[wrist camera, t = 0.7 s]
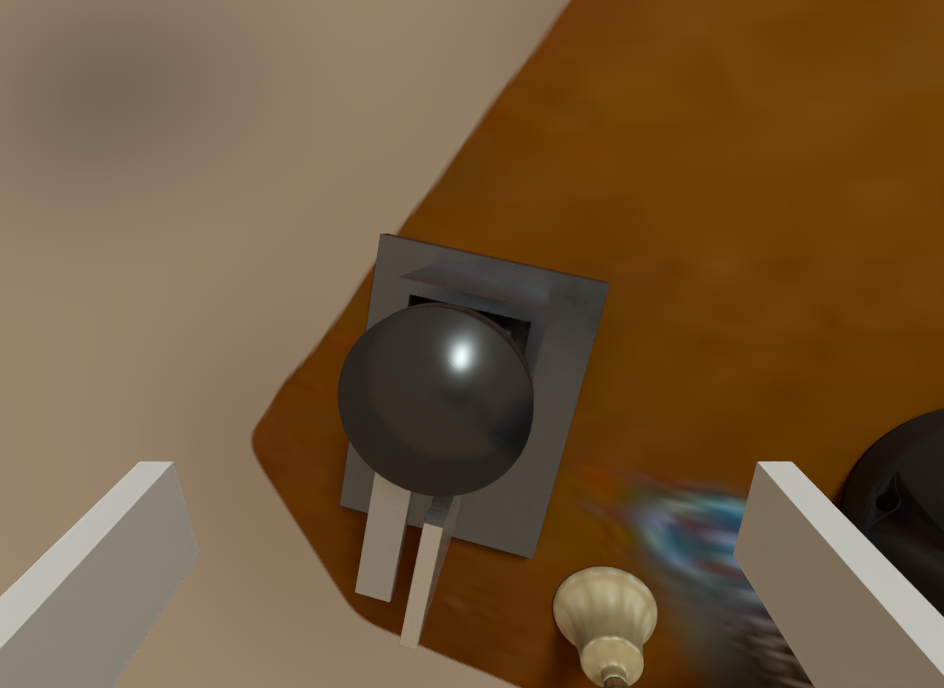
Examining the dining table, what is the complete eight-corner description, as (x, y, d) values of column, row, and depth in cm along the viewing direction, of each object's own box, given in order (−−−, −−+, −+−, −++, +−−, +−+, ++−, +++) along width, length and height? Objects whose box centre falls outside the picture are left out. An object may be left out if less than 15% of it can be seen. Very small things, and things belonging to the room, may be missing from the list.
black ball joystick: (553, 301, 29) (555, 334, 21) (493, 541, 34) (474, 651, 25) (408, 268, 30) (351, 287, 22) (368, 507, 35) (308, 602, 26)
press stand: (607, 281, 34) (641, 319, 21) (533, 546, 40) (525, 701, 27) (387, 233, 36) (295, 240, 23) (347, 495, 42) (256, 619, 29)
